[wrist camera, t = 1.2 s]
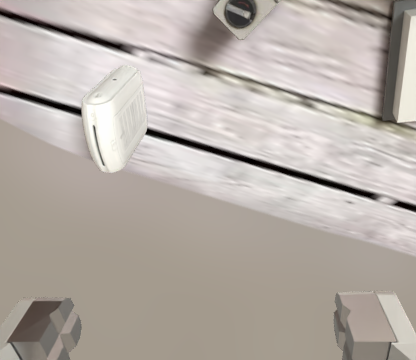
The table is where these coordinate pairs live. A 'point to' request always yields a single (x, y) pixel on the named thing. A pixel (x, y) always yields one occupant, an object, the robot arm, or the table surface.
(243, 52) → the table surface
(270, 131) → the table surface
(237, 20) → the camera
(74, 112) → the table surface
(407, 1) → the frame
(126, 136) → the photo printer
